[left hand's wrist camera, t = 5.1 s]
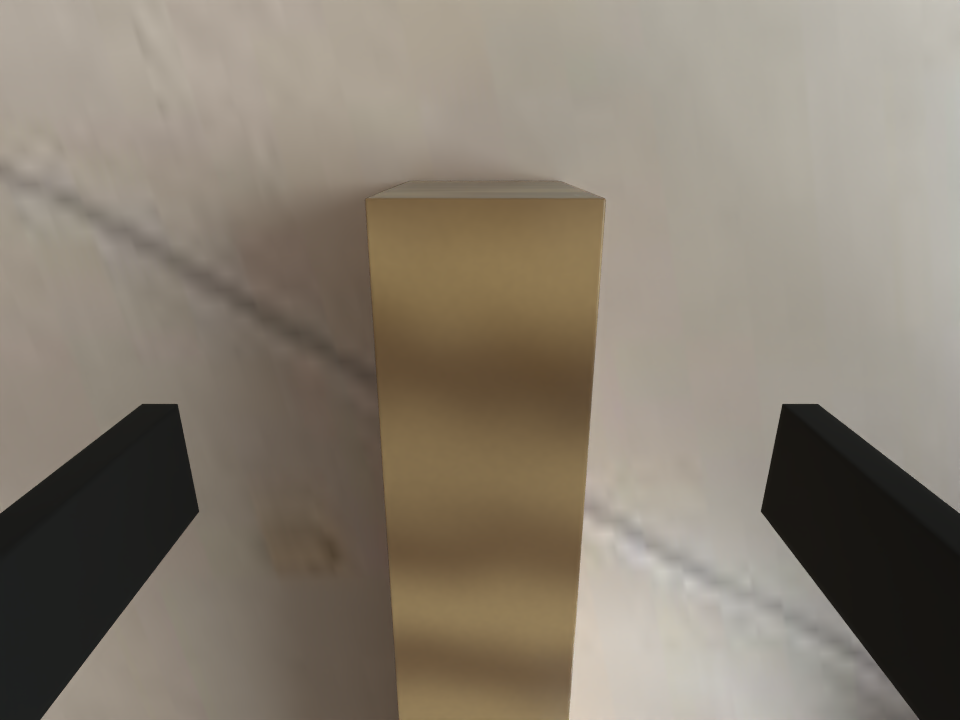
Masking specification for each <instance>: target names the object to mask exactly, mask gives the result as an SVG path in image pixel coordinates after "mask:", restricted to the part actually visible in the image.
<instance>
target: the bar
mask: <svg viewBox="0 0 960 720" xmlns="http://www.w3.org/2000/svg"><path fill="white" fill-rule="evenodd" d="M605 206H606V199H605V198H602V197H600V196H597V195H595V194H592V193H590V192H587V191H584V190H582V189H579V188H577V187H574V186H572V185H569V184H567V183H564V182H562V181H408V182H406V183H403V184H401V185H398V186H396V187H393V188H391V189H388V190H386V191H383V192H381V193H378V194H376V195H373V196H371V197H368V198H366V199H365V208H366V223H367V239H368V254H369V269H370V285H371V300H372V316H373V331H374V346H375V362H376V377H377V393H378V408H379V424H380V439H381V454H382V470H383V485H384V501H385V516H386V531H387V547H388V562H389V578H390V593H391V608H392V624H393V639H394V655H395V670H396V686H397V701H398V716H399V720H569V711H570V697H571V683H572V669H573V655H574V641H575V627H576V613H577V599H578V585H579V570H580V556H581V542H582V528H583V514H584V500H585V486H586V472H587V458H588V444H589V430H590V416H591V402H592V388H593V374H594V360H595V346H596V332H597V318H598V304H599V290H600V276H601V262H602V248H603V234H604V220H605Z"/></svg>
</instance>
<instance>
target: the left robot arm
mask: <svg viewBox="0 0 960 720" xmlns="http://www.w3.org/2000/svg"><path fill="white" fill-rule="evenodd" d="M198 512H199V509H198V504H197V499H196V494H195V489H194V484H193V479H192V474H191V469H190V464H189V459H188V454H187V449H186V444H185V439H184V434H183V429H182V424H181V419H180V414H179V409H178V404H142V405H140V406H139V407H138V408H136V409H135V410H134V411H133V412H131V413H130V414H129V415H127V416H126V417H125V418H124V419H122V420H121V421H120V422H118V423H117V424H116V425H114V426H113V427H112V428H111V429H109V430H108V431H107V432H105V433H104V434H103V435H101V436H100V437H99V438H98V439H96V440H95V441H94V442H92V443H91V444H90V445H89V446H87V447H86V448H85V449H83V450H82V451H81V452H79V453H78V454H77V455H76V456H74V457H73V458H72V459H70V460H69V461H68V462H67V463H65V464H64V465H63V466H61V467H60V468H59V469H57V470H56V471H55V472H54V473H52V474H51V475H50V476H48V477H47V478H46V479H45V480H43V481H42V482H41V483H39V484H38V485H37V486H35V487H34V488H33V489H32V490H30V491H29V492H28V493H26V494H25V495H24V496H22V497H21V498H20V499H19V500H17V501H16V502H15V503H13V504H12V505H11V506H10V507H8V508H7V509H6V510H4V511H3V512H2V513H0V720H40V719H41V718H42V717H43V715H44V714H45V713H46V711H47V710H48V709H49V708H50V706H51V705H52V704H53V702H54V701H55V700H56V698H57V697H58V696H59V694H60V693H61V692H62V690H63V689H64V688H65V687H66V685H67V684H68V683H69V681H70V680H71V679H72V677H73V676H74V675H75V673H76V672H77V671H78V670H79V668H80V667H81V666H82V664H83V663H84V662H85V660H86V659H87V658H88V656H89V655H90V654H91V652H92V651H93V650H94V649H95V647H96V646H97V645H98V643H99V642H100V641H101V639H102V638H103V637H104V635H105V634H106V633H107V632H108V630H109V629H110V628H111V626H112V625H113V624H114V622H115V621H116V620H117V618H118V617H119V616H120V614H121V613H122V612H123V611H124V609H125V608H126V607H127V605H128V604H129V603H130V601H131V600H132V599H133V597H134V596H135V595H136V593H137V592H138V591H139V590H140V588H141V587H142V586H143V584H144V583H145V582H146V580H147V579H148V578H149V576H150V575H151V574H152V573H153V571H154V570H155V569H156V567H157V566H158V565H159V563H160V562H161V561H162V559H163V558H164V557H165V555H166V554H167V553H168V552H169V550H170V549H171V548H172V546H173V545H174V544H175V542H176V541H177V540H178V538H179V537H180V536H181V535H182V533H183V532H184V531H185V529H186V528H187V527H188V525H189V524H190V523H191V521H192V520H193V519H194V517H195V516H196V515H197V514H198ZM761 512H762V514H763V515H764V516H765V517H766V519H767V520H768V521H769V523H770V524H771V525H772V527H773V528H774V529H775V531H776V532H777V533H778V535H779V536H780V537H781V538H782V540H783V541H784V542H785V544H786V545H787V546H788V548H789V549H790V550H791V552H792V553H793V554H794V555H795V557H796V558H797V559H798V561H799V562H800V563H801V565H802V566H803V567H804V569H805V570H806V571H807V573H808V574H809V575H810V576H811V578H812V579H813V580H814V582H815V583H816V584H817V586H818V587H819V588H820V590H821V591H822V592H823V593H824V595H825V596H826V597H827V599H828V600H829V601H830V603H831V604H832V605H833V607H834V608H835V609H836V611H837V612H838V613H839V614H840V616H841V617H842V618H843V620H844V621H845V622H846V624H847V625H848V626H849V628H850V629H851V630H852V632H853V633H854V634H855V635H856V637H857V638H858V639H859V641H860V642H861V643H862V645H863V646H864V647H865V649H866V650H867V651H868V652H869V654H870V655H871V656H872V658H873V659H874V660H875V662H876V663H877V664H878V666H879V667H880V668H881V670H882V671H883V672H884V673H885V675H886V676H887V677H888V679H889V680H890V681H891V683H892V684H893V685H894V687H895V688H896V689H897V690H898V692H899V693H900V694H901V696H902V697H903V698H904V700H905V701H906V702H907V704H908V705H909V706H910V708H911V709H912V710H913V711H914V713H915V714H916V715H917V717H918V718H919V719H920V720H960V513H958V512H957V511H956V510H954V509H953V508H952V507H950V506H949V505H948V504H947V503H945V502H944V501H943V500H941V499H940V498H939V497H938V496H936V495H935V494H934V493H932V492H931V491H930V490H928V489H927V488H926V487H925V486H923V485H922V484H921V483H919V482H918V481H917V480H915V479H914V478H913V477H912V476H910V475H909V474H908V473H906V472H905V471H904V470H903V469H901V468H900V467H899V466H897V465H896V464H895V463H893V462H892V461H891V460H890V459H888V458H887V457H886V456H884V455H883V454H882V453H881V452H879V451H878V450H877V449H875V448H874V447H873V446H871V445H870V444H869V443H868V442H866V441H865V440H864V439H862V438H861V437H860V436H858V435H857V434H856V433H855V432H853V431H852V430H851V429H849V428H848V427H847V426H846V425H844V424H843V423H842V422H840V421H839V420H838V419H836V418H835V417H834V416H833V415H831V414H830V413H829V412H827V411H826V410H825V409H824V408H822V407H821V406H820V405H818V404H782V409H781V414H780V419H779V424H778V429H777V434H776V439H775V444H774V449H773V454H772V459H771V464H770V469H769V474H768V479H767V484H766V489H765V494H764V499H763V504H762V509H761Z"/></svg>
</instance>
